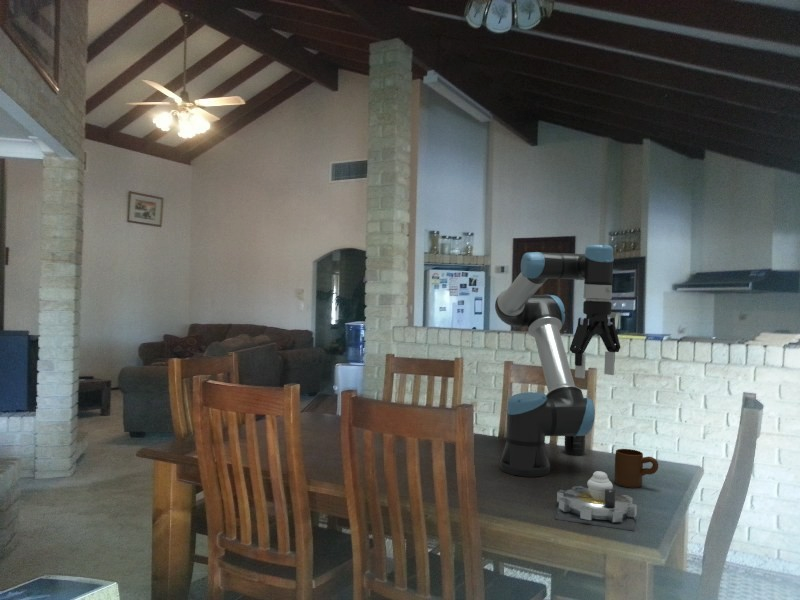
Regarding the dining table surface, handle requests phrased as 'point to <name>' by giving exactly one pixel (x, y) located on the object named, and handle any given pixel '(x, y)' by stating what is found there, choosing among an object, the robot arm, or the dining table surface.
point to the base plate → (596, 520)
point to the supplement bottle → (575, 445)
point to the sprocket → (596, 504)
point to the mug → (632, 467)
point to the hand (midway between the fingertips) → (594, 376)
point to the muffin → (599, 485)
